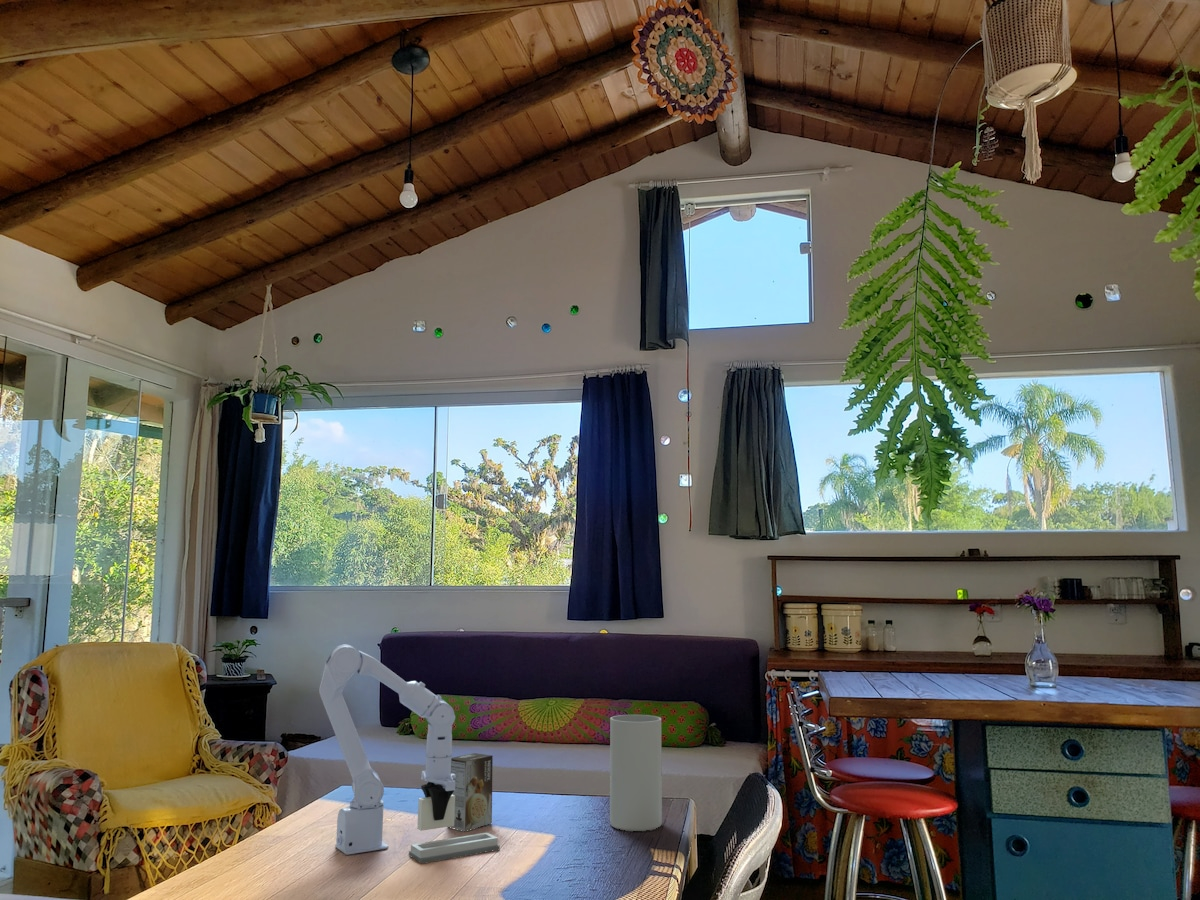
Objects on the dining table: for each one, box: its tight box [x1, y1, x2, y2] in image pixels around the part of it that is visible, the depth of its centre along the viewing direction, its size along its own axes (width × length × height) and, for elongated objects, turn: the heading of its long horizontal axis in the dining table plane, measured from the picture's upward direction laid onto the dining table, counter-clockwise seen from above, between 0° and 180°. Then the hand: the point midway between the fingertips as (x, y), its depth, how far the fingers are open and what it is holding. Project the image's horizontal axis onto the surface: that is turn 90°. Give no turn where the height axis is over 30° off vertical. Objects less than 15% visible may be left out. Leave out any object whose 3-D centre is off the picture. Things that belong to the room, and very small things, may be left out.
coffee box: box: [450, 752, 494, 832], centre depth 215 cm, size 9×6×16 cm
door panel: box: [417, 795, 455, 832], centre depth 201 cm, size 8×2×6 cm, turn 124°
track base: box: [408, 832, 500, 864], centre depth 192 cm, size 18×7×2 cm, turn 124°
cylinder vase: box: [609, 714, 663, 832], centre depth 217 cm, size 12×12×25 cm
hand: (436, 818), depth 201 cm, fingers closed on door panel, 2 cm apart
